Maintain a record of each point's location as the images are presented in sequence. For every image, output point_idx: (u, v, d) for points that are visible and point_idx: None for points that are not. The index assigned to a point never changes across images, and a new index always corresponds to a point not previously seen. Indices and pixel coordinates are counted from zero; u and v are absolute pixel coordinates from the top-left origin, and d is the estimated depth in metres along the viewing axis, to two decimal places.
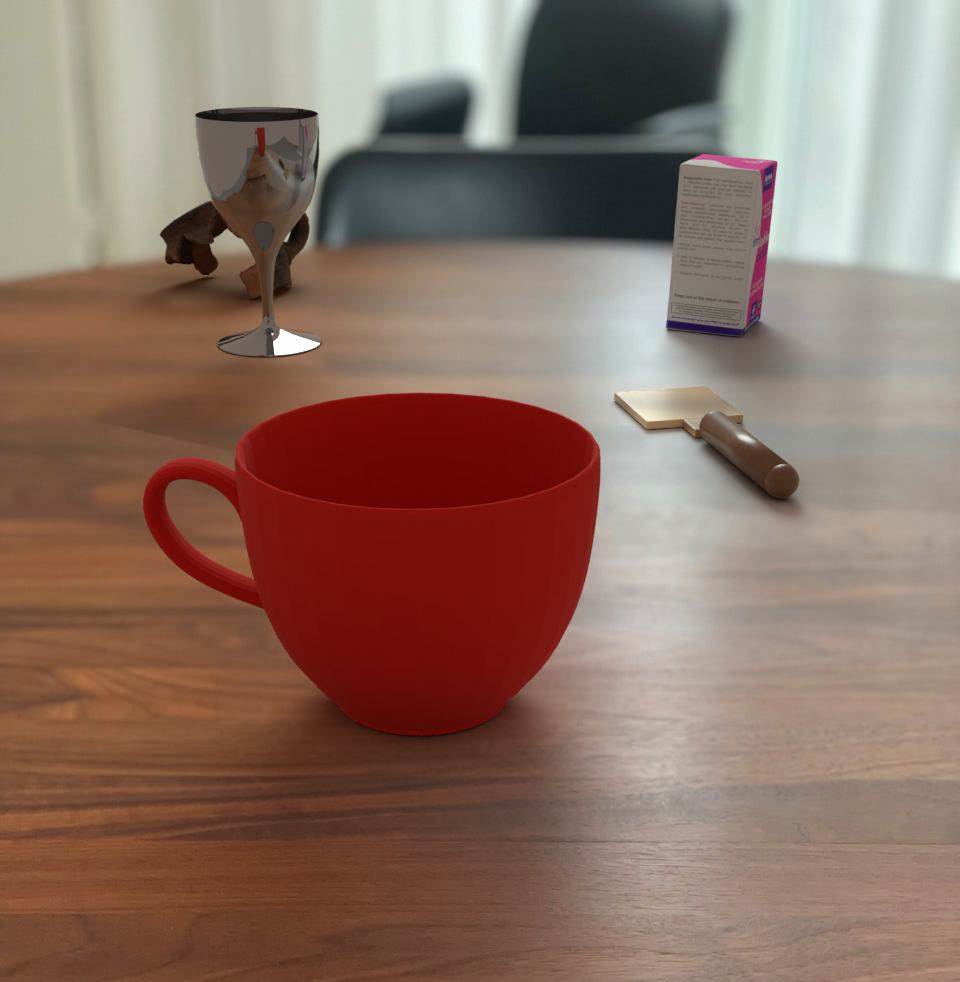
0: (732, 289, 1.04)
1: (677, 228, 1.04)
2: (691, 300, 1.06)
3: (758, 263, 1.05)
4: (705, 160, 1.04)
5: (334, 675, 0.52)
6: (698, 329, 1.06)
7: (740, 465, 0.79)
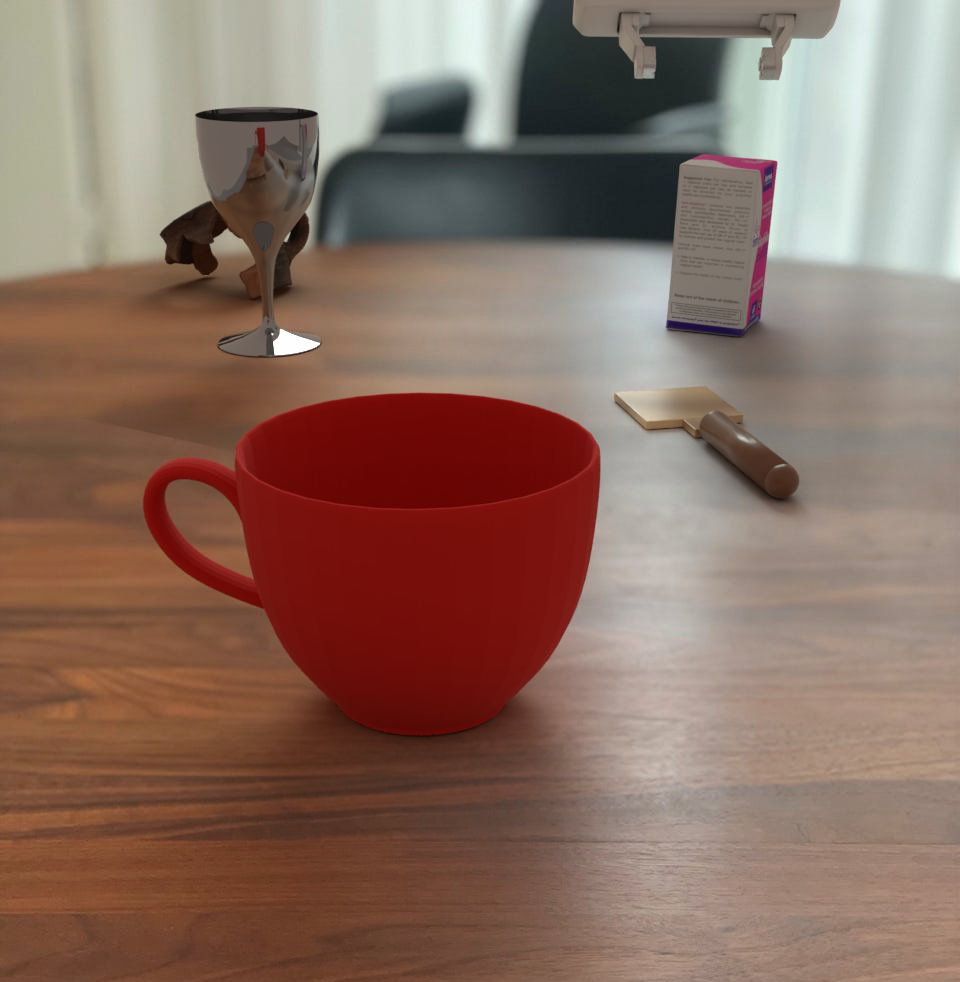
0: (731, 289, 1.04)
1: (677, 228, 1.04)
2: (691, 300, 1.06)
3: (758, 263, 1.05)
4: (705, 160, 1.04)
5: (334, 675, 0.52)
6: (698, 329, 1.06)
7: (740, 465, 0.79)
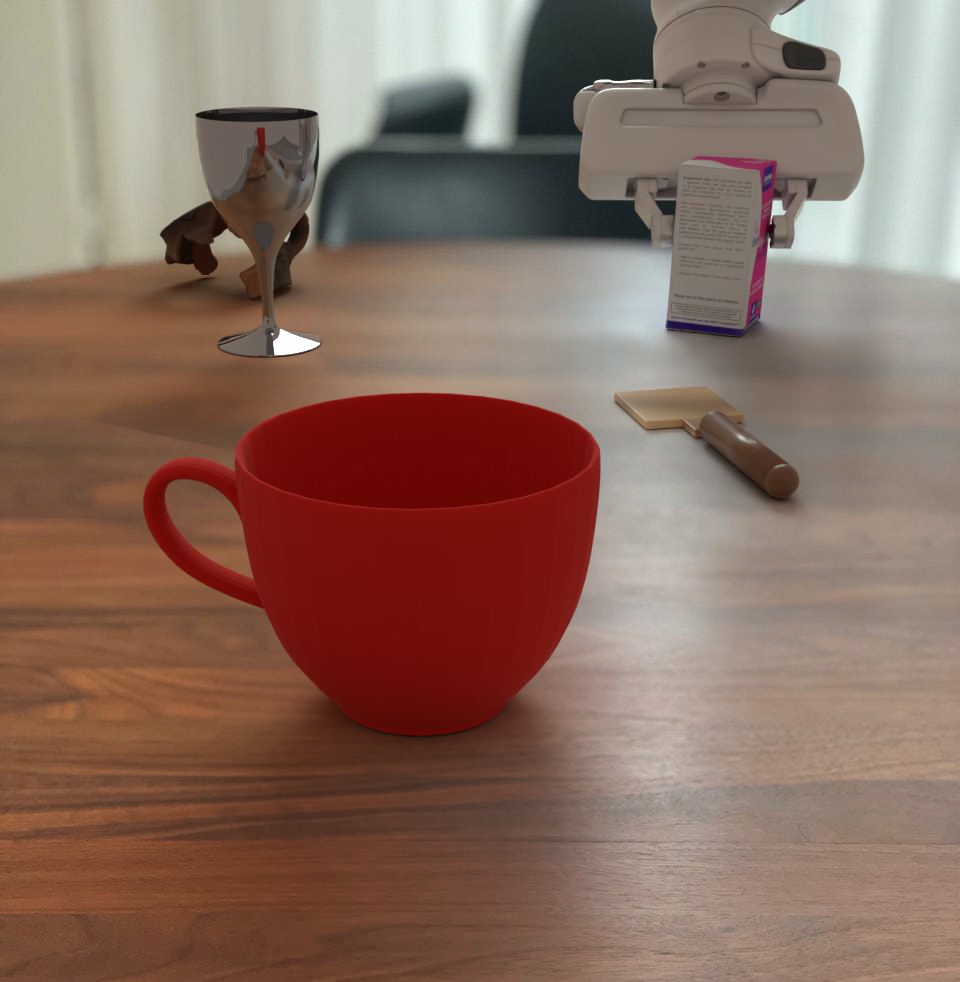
0: (731, 289, 1.04)
1: (677, 228, 1.04)
2: (691, 300, 1.06)
3: (758, 263, 1.05)
4: (704, 160, 1.04)
5: (334, 675, 0.52)
6: (698, 329, 1.06)
7: (740, 465, 0.79)
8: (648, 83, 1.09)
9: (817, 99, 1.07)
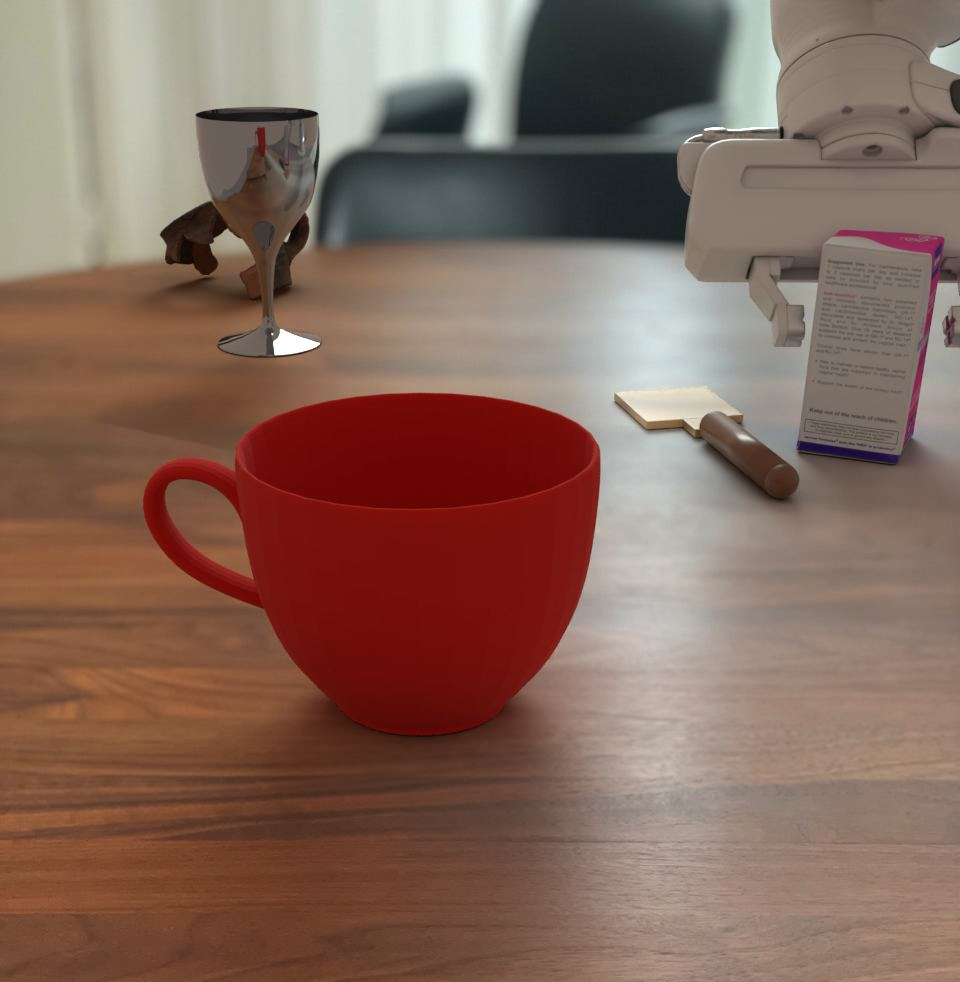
0: (887, 404, 0.80)
1: (816, 325, 0.80)
2: (832, 416, 0.81)
3: (919, 369, 0.81)
4: (853, 237, 0.80)
5: (334, 675, 0.52)
6: (839, 453, 0.82)
7: (740, 465, 0.79)
8: (773, 132, 0.85)
9: None
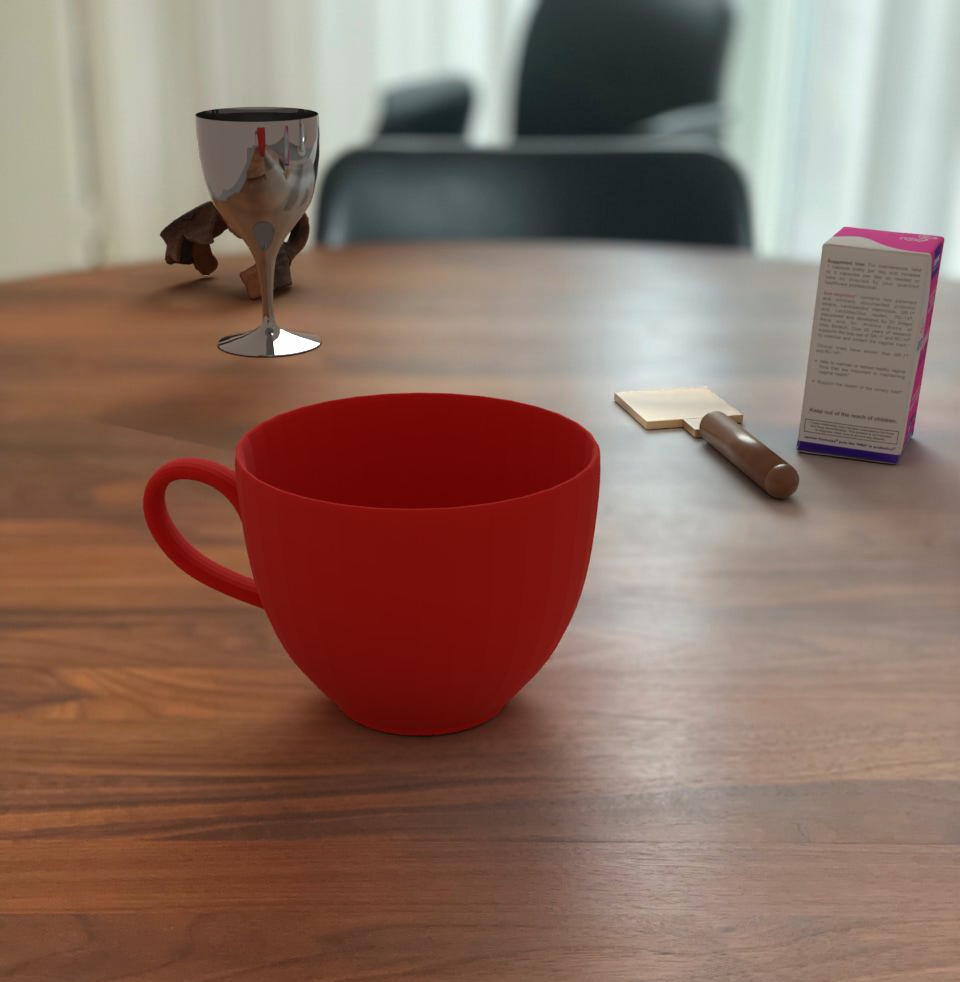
0: (887, 404, 0.80)
1: (816, 325, 0.80)
2: (832, 416, 0.81)
3: (919, 369, 0.81)
4: (853, 237, 0.80)
5: (334, 675, 0.52)
6: (839, 453, 0.82)
7: (740, 465, 0.79)
8: None
9: None
